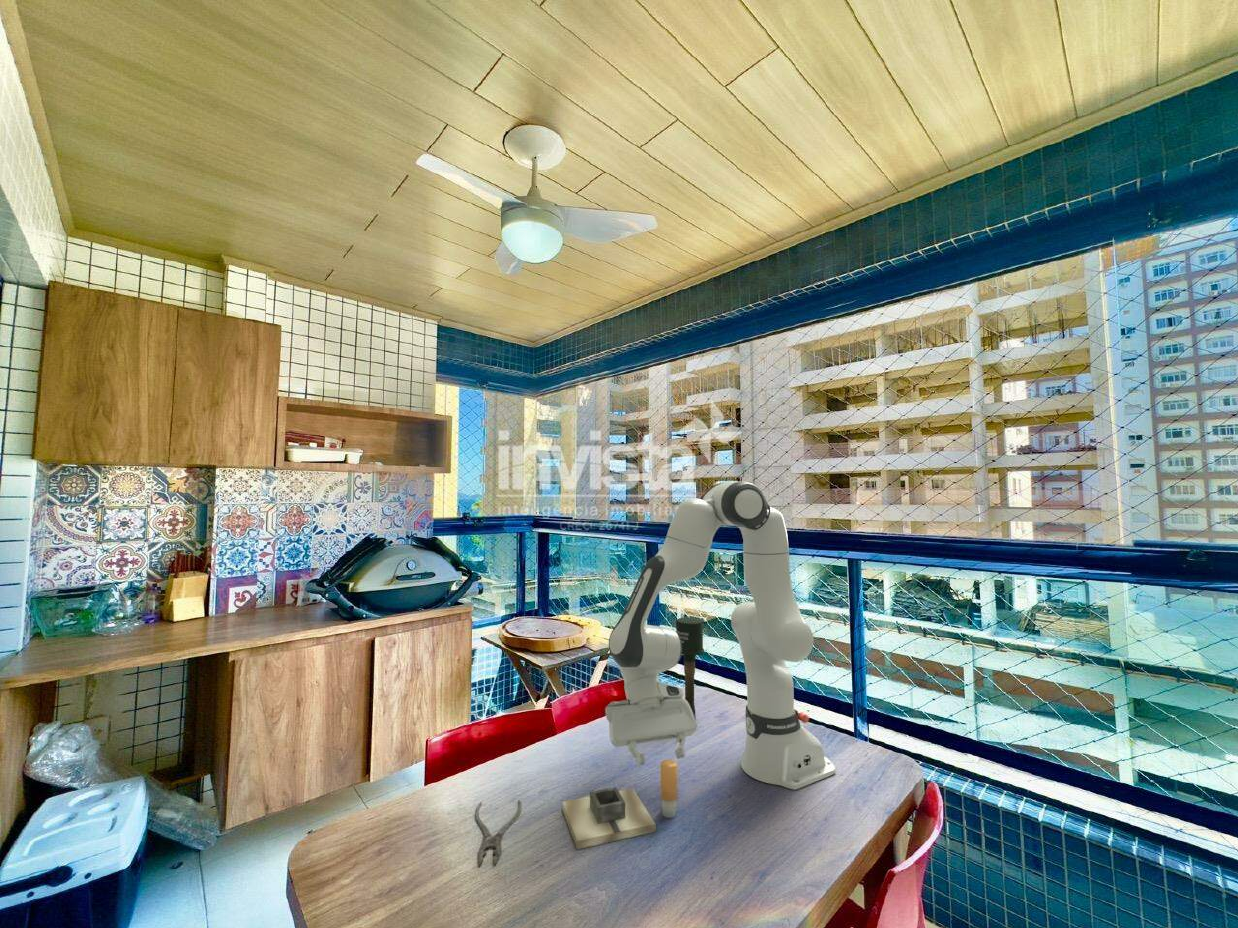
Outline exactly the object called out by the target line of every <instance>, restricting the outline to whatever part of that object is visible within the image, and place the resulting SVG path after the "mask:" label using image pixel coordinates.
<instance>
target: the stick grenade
mask: <svg viewBox="0 0 1238 928" xmlns="http://www.w3.org/2000/svg"><path fill="white" fill-rule="evenodd" d="M703 622H704V621H703V620H702V619H700V618H697V617H691V616H690V617H689V616H687V617H686V616H685V617H679V618H677V619H676V621H675V631H676V632H677V634H678V635H679V637H680V640H681V644H682V654H681V656H682V655H683V672H684V699H685V700H687V702H688V703H689V705H690V707H691V709H692V712H693V714H694V717H695V720H696V721H697V717H696V708H695V674H696V656H700V655H703V654H704V653H705V648H704V636H703V635H704V623H703Z"/></svg>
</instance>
